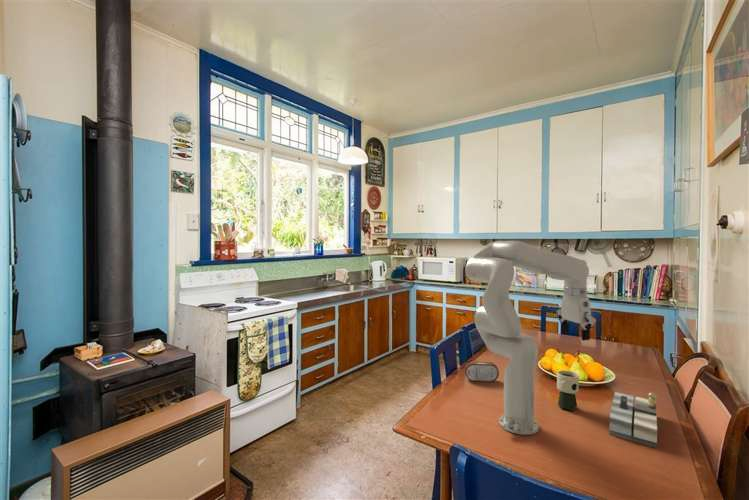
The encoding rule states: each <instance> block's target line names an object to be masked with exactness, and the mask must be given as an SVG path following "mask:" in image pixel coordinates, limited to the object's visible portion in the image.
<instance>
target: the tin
mask: <svg viewBox="0 0 749 500" xmlns="http://www.w3.org/2000/svg"><path fill="white" fill-rule="evenodd" d="M499 370H500V369H498V366H497V365H496V364H495V363H494V362H490V361H470V362H467V363H466V364H465V366H464V367H463V372H464V375H465V377H466V379H468V381H471V382H482V383H483V382H484V383H487V382H488V383H493V382H495V381H497V379H498V378H499V375H500V371H499Z"/></svg>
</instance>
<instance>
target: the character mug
mask: <svg viewBox="0 0 749 500" xmlns="http://www.w3.org/2000/svg"><path fill="white" fill-rule="evenodd" d="M579 377H580V375H579V374H578V373H576V372H574V371H571V370H564V369H563V370H561V369H560V370H558V371H557V372H556V388H557V390H558V391H559V395H558V402H557V404H558V406H559V407H561V408H563V409H565V410H567V411H576V410H577V408H578V403H577V397H576V394H578V393H579V390H580V389H579V385H580V383H579V381H580V380H579V379H580V378H579Z"/></svg>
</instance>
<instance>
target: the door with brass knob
mask: <svg viewBox="0 0 749 500" xmlns="http://www.w3.org/2000/svg"><path fill="white" fill-rule="evenodd" d="M647 396H648V399H649V404H648V406H647V405H642V404H638V403H634V407H635V409H639V410H643V411H647V412H652V413H656V414H657V399H658V395H657V394H656V393H655V392H653V391H650V392H648V394H647Z"/></svg>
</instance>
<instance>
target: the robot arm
mask: <svg viewBox="0 0 749 500" xmlns="http://www.w3.org/2000/svg"><path fill="white" fill-rule="evenodd" d="M514 267H515V268H519V269H522V270H525V271H528V272H531V273H533V274H534V273H535V274H539V275H545V276H547V277H548V278H550V279H552V280H559V281H563V294H562V300H561V308H559V309H557V310H556V313H557V318H558V319H559V322H560V332H561V334H569V332H570V322H573V323H575V324H580V326H581V328H582V329H581V335H580V336H581V337H580V338H581V341H590V340H591V330H592V328H593V327H594V326H595V324H596V322H597V320H596V319H595V317H593V316H592V310H591V302H590V298H589V296H587V295H588V294H589V291H588V290H587V289H588V283H587V281H588V280H587V279H588V277H589V274H590V269H589V266H588V263H587V261H586V260H585V259H580V258H576V257H574V256H570V255H566V254H561V253H557V252H554V251H550V250H545V249H542V248H539V247H536V246H534V245H531V244H529V243H526V242H523V241H520V240H496V241H494V242H492V243H490V244H489V245H487V246H485V247H484V248H482V249H481V250H480V251H478V252H477V253H475V254H474V255H473V256H471V257H470V258H469V259H468V260H467V262H466V264H465V268H464V269H465V270H464V271H465V274H466V277H468V279H470V280H471V281H472V282H476V283H477V282H478V283H484V284H487V286H486V288H485V290H484V293H483V295H482V296H481V297H482V298H481V299H482V300H481V302H482V305H481V306H479V307H478V308H477V309H476V311H475V313H474V325H475V327H476V330H477V331H478V333H479V335H480V337H481V339H482V340H483V342H484V344H485V346H486V347H487V349H488V350H489V351H490V352H492V353H493V354H495V355H497V356H501V357H504V358H506V359H508V360H509V362H508V364H507V365H506V366H505V369H504V371H503V414H501V415H500V416H499V418H498V423H499V425H500V427H501V428H502V429H504V430H505V431H508V432H510V433H513V434H514V435H515V434H516V435H520V436H530V435H534V434H537V433H538V432H539V430H540V426H539V422H538V421H537V420H536V419H535V367H536V362H537V358H538V353H539V352H538V351H539V347H538V343H537V341H536V340H535V339H534V338H533V337H531V335H528V334H525V333H522V329H523V328H522V327H523V326H522V323H521V320H520V316H519V315H518V314H517V311H516V309H515V308H514V306H513V303H512V300H511V299H510V289H511V286H512V282H513V279H514V276H515V268H514Z"/></svg>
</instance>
